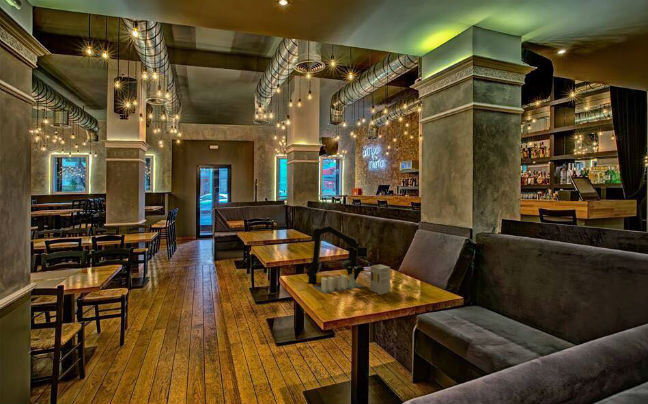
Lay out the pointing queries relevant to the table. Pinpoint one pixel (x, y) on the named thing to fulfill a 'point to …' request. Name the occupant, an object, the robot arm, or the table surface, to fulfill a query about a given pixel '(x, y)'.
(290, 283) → the table surface
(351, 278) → the domino
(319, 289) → the mat
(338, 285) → the domino
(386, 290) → the supplement box
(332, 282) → the domino
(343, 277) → the domino
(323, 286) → the domino
